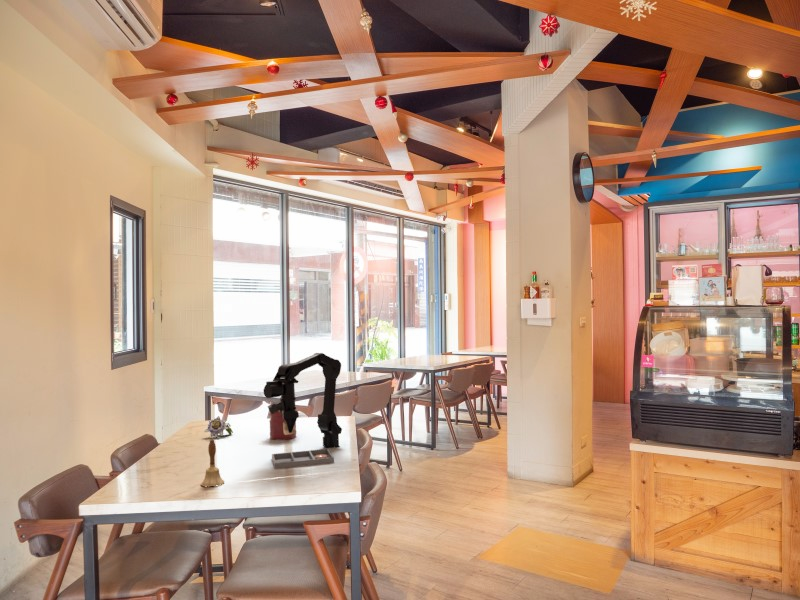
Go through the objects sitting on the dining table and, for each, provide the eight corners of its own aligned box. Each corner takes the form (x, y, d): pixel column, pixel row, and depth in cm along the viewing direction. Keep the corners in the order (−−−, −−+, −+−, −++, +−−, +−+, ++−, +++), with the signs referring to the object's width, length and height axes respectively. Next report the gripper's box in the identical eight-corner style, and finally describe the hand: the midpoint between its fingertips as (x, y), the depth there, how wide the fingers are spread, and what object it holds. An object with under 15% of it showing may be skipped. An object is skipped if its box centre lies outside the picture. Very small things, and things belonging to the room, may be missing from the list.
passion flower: (216, 448, 292) (201, 430, 289) (218, 440, 302) (204, 422, 299) (234, 435, 292) (219, 417, 289) (236, 426, 303) (222, 409, 300)
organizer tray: (327, 454, 249) (327, 448, 249) (334, 463, 234) (333, 457, 234) (272, 460, 243) (271, 454, 243) (274, 469, 227) (274, 463, 227)
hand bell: (229, 481, 214) (228, 437, 214) (215, 488, 206) (213, 443, 206) (210, 480, 216) (209, 437, 217) (195, 486, 208) (194, 442, 209)
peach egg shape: (326, 456, 243) (326, 454, 243) (327, 459, 238) (327, 456, 239) (314, 457, 242) (314, 454, 242) (315, 460, 237) (315, 457, 237)
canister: (300, 434, 293) (299, 399, 293) (291, 440, 280) (290, 403, 281) (275, 434, 295) (274, 399, 296) (265, 440, 283) (264, 403, 283)
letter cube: (294, 431, 249) (293, 420, 249) (295, 433, 245) (295, 422, 245) (283, 432, 248) (283, 421, 248) (284, 434, 243) (284, 423, 243)
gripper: (266, 393, 253) (268, 429, 253) (270, 399, 235) (272, 438, 235) (292, 391, 256) (294, 426, 256) (298, 397, 238) (299, 435, 238)
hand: (289, 431), depth 246 cm, fingers closed on letter cube, 4 cm apart
